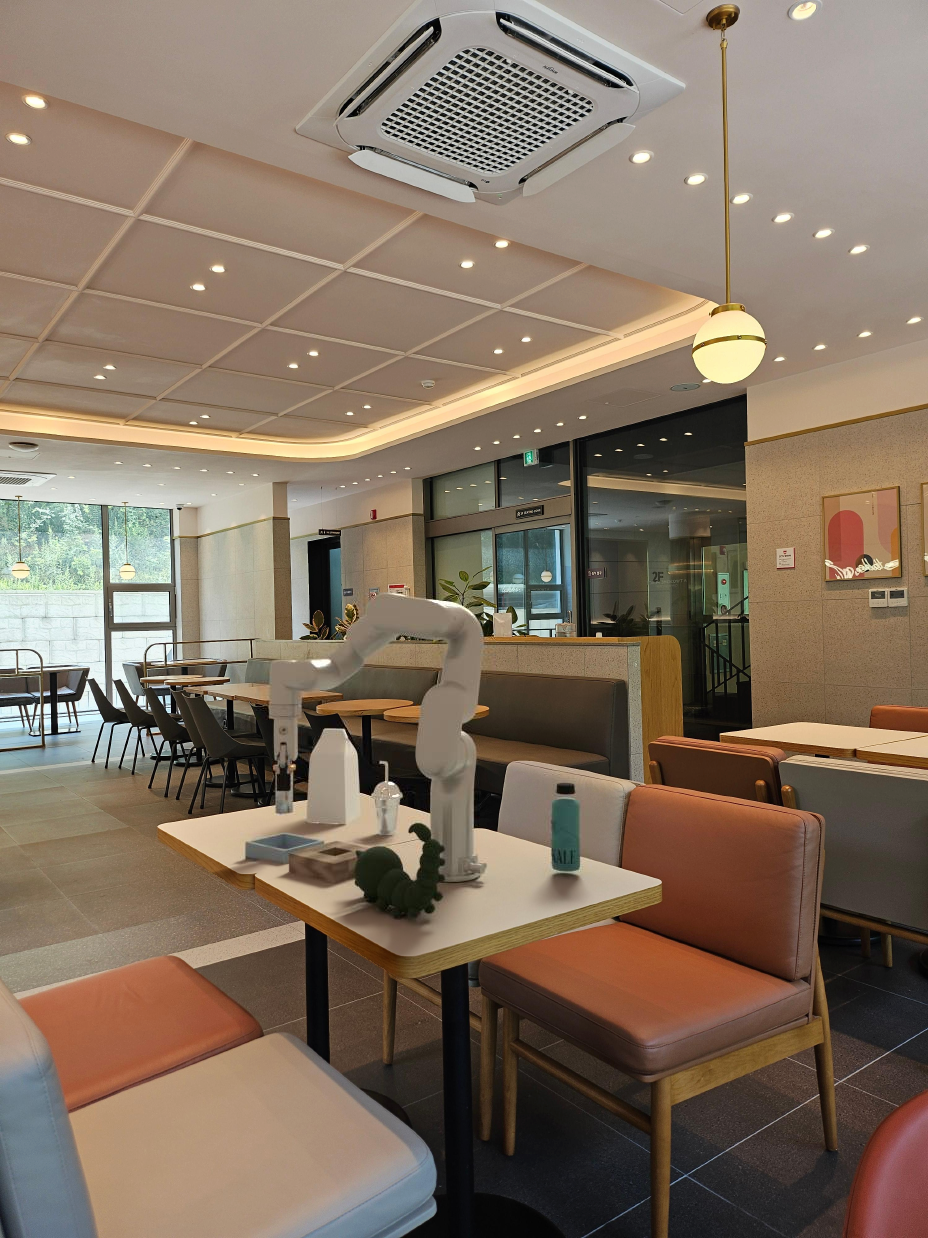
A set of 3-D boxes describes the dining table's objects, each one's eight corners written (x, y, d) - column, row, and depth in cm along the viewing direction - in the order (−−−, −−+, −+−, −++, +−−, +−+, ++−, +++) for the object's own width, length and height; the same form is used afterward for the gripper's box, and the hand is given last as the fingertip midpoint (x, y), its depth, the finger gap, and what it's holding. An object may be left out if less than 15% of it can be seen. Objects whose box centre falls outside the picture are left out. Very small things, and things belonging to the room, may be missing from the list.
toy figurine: (453, 928, 152) (372, 887, 170) (459, 827, 151) (377, 796, 170) (413, 941, 146) (334, 896, 164) (419, 835, 145) (339, 802, 163)
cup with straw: (409, 833, 220) (409, 758, 221) (382, 839, 214) (382, 761, 215) (389, 828, 226) (389, 755, 227) (362, 833, 220) (362, 758, 221)
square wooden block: (380, 874, 182) (380, 850, 182) (334, 889, 171) (334, 863, 171) (335, 863, 190) (335, 841, 191) (288, 877, 179) (288, 853, 179)
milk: (306, 822, 234) (306, 730, 234) (322, 814, 245) (322, 726, 246) (345, 825, 231) (346, 731, 232) (360, 816, 242) (360, 727, 243)
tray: (324, 857, 196) (324, 840, 196) (284, 869, 186) (284, 851, 186) (284, 848, 204) (284, 832, 204) (245, 859, 195) (245, 842, 195)
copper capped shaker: (299, 811, 196) (300, 765, 196) (282, 815, 192) (283, 767, 192) (285, 809, 199) (285, 763, 199) (268, 812, 195) (268, 765, 195)
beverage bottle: (571, 869, 185) (571, 780, 186) (586, 877, 179) (586, 784, 180) (545, 872, 183) (545, 781, 184) (559, 880, 177) (559, 786, 177)
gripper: (299, 714, 188) (298, 795, 188) (303, 708, 205) (302, 782, 205) (265, 715, 187) (264, 795, 187) (272, 708, 204) (271, 782, 204)
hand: (284, 788), depth 196 cm, fingers closed on copper capped shaker, 4 cm apart
